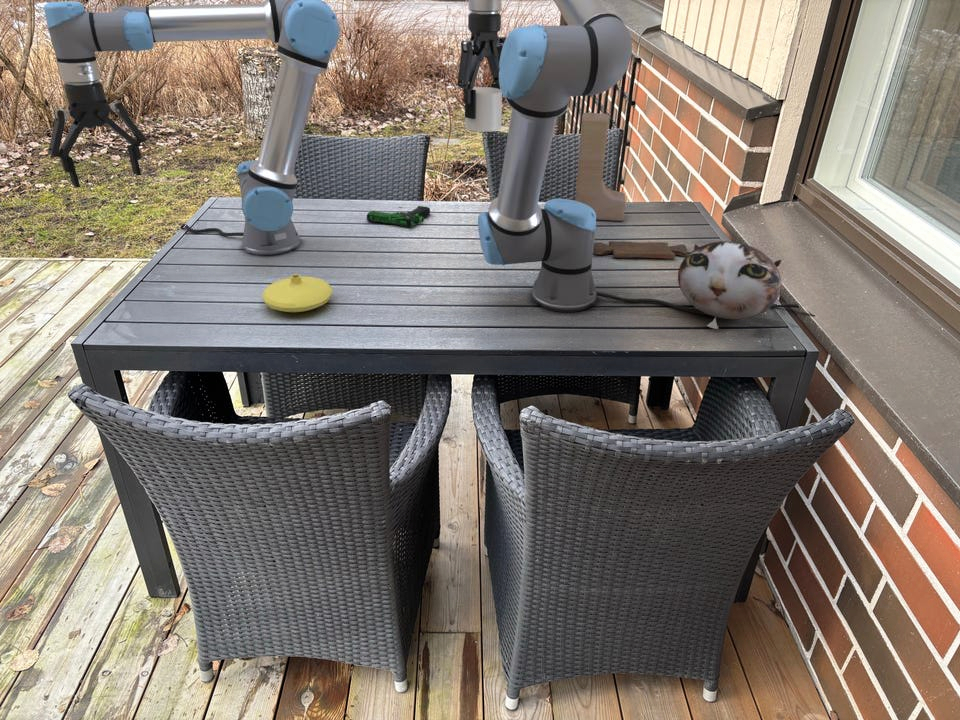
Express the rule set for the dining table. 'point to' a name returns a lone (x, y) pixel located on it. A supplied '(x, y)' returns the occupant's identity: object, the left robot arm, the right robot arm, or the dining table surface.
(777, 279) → the cat face balloon
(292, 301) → the vase
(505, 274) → the dining table surface
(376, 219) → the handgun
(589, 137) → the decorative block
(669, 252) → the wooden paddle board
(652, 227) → the dining table surface
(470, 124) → the can
